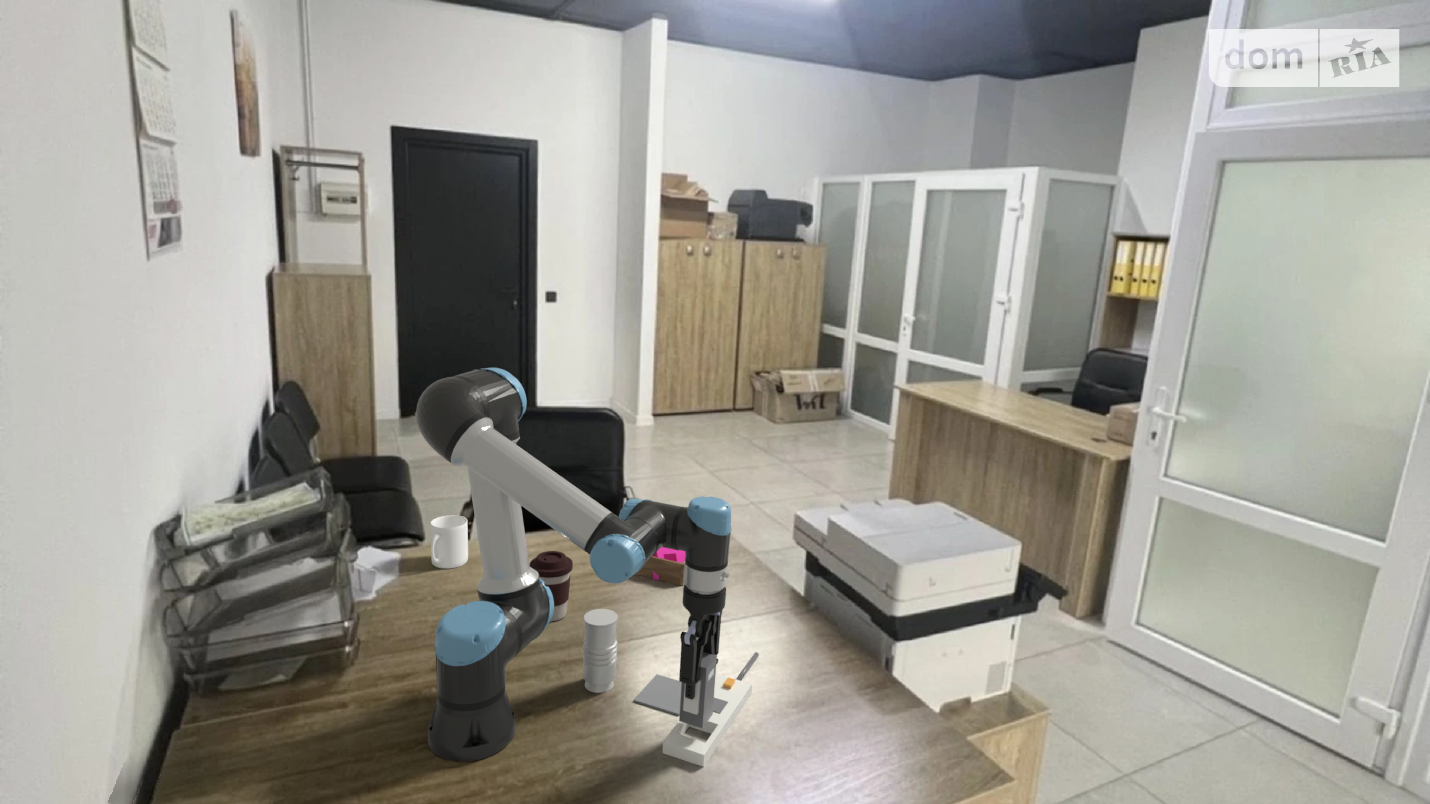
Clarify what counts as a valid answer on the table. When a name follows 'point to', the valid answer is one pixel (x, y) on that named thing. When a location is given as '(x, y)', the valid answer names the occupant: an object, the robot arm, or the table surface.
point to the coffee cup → (555, 578)
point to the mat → (661, 694)
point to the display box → (664, 570)
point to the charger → (702, 693)
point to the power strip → (711, 720)
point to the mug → (449, 541)
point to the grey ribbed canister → (600, 650)
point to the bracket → (669, 557)
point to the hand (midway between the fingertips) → (697, 703)
